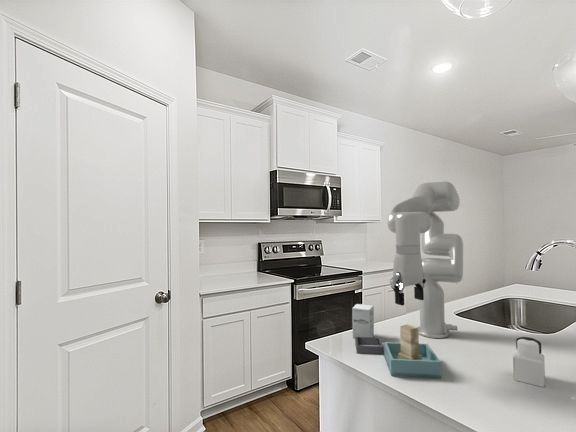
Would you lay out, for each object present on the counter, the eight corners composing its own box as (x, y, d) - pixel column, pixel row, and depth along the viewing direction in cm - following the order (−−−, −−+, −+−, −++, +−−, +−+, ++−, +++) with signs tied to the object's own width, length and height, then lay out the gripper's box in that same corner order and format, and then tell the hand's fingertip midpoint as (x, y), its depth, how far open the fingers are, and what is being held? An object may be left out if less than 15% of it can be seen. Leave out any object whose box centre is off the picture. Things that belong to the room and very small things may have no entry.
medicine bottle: (516, 371, 103) (515, 333, 103) (544, 378, 99) (543, 338, 99) (513, 380, 98) (512, 340, 98) (544, 388, 93) (543, 345, 93)
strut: (408, 358, 112) (407, 323, 112) (421, 364, 107) (421, 327, 107) (398, 362, 109) (397, 326, 109) (411, 368, 104) (410, 330, 105)
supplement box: (352, 338, 134) (351, 307, 134) (357, 332, 140) (356, 303, 141) (370, 341, 130) (369, 309, 131) (374, 335, 137) (373, 305, 137)
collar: (380, 344, 127) (380, 337, 127) (383, 354, 118) (383, 347, 118) (355, 343, 129) (355, 336, 129) (356, 353, 119) (356, 346, 119)
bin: (427, 358, 114) (427, 343, 114) (441, 378, 100) (440, 361, 100) (384, 356, 116) (384, 342, 116) (391, 376, 102) (391, 359, 102)
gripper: (415, 247, 116) (416, 295, 116) (381, 251, 107) (382, 304, 107) (434, 248, 110) (435, 299, 110) (399, 253, 100) (401, 309, 101)
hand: (409, 301), depth 108 cm, fingers open, 9 cm apart
